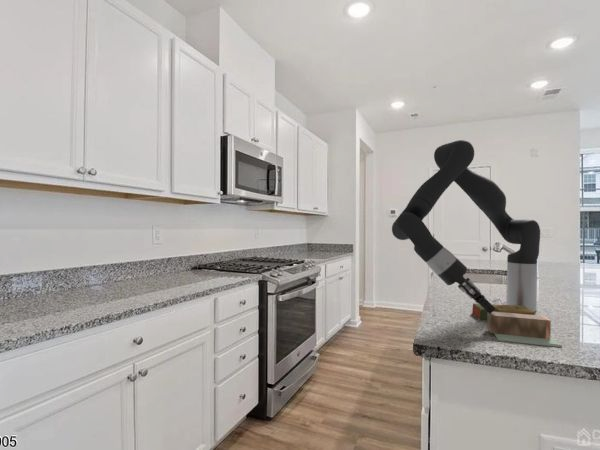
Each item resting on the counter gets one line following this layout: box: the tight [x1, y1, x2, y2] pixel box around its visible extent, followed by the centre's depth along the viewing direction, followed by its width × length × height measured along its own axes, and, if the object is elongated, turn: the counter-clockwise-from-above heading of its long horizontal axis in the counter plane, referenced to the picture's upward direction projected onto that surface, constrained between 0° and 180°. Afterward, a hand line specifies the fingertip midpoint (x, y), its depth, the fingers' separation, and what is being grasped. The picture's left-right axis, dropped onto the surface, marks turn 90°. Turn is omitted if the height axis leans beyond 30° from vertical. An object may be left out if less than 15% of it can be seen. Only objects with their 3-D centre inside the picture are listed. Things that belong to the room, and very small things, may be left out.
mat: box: [494, 334, 563, 348], centre depth 93 cm, size 14×13×1 cm
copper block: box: [486, 312, 552, 339], centre depth 93 cm, size 5×5×14 cm
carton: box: [471, 303, 536, 321], centre depth 111 cm, size 8×16×4 cm, turn 78°
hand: (492, 310), depth 96 cm, fingers closed
